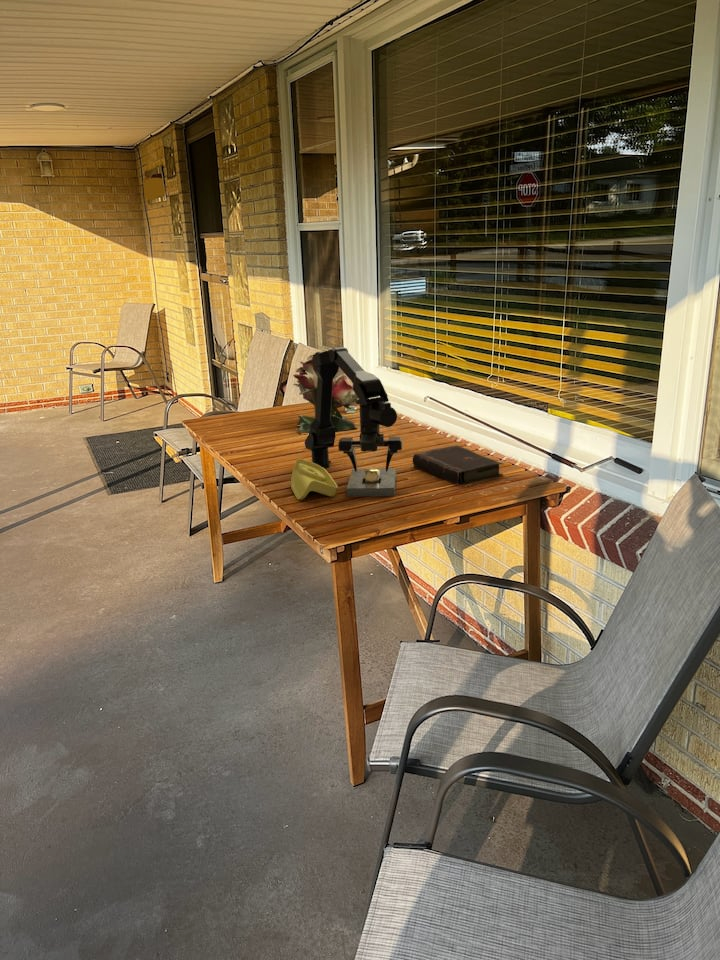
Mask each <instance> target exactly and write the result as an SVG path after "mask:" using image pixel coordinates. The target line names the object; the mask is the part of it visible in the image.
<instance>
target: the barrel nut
mask: <svg viewBox="0 0 720 960" xmlns="http://www.w3.org/2000/svg"><path fill="white" fill-rule="evenodd" d="M364 469H365V484H378V469H376V467H370V468H369V467H367V468H364Z"/></svg>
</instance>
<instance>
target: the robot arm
mask: <svg viewBox="0 0 720 960" xmlns="http://www.w3.org/2000/svg"><path fill="white" fill-rule="evenodd" d="M314 353H315V354H314ZM314 353H313V354H314V355H313V354H312V355H313V356H312V357H313V358H312V363H313V370H314V372H315V374H316V375H317V377H318V380H317V399H316V418H315V420H314V421H313V423H312V424H311V426H310V431H309V435H307V436H306V438H305V440H304V446H305V449H307V450H310V451H311V462H313V463H315V464H317V465H319V466H321V467H323V468H330V467H331V466H330V465H331V464H332V461H331V460H330V457H329V456H330V455H329V454H330V453H329V448H333V447H334V446H335V440H336V438H337V437H336V432H337V431H336V428H335V427H334V426H333V424H332V423H331V421H330V417H331V401H332V385H333V378H334V379H335V377H336V376H337V374H338V372H339V370H341V371H342V372H343V374H344V373H345V374H346V376H347V377H348V378H349V379H350V380H351V382H352V383H353V390H354V392H355V394H356V395H357V397H358V398H359V399H358V400H357V401H356V404H358V406H359V427H360V431H359V432H360V434H359V440H354V438H353V437H341V438H340V439H339V441H338V445H337V446H338V451H339V452H342V453H343V454H347V456H348V458H349V460H350V461H351V464H352V467H353V469H354V470H355V472H357V469H358V465H357V456H356V451H355V450H356V448H360V451H361V452H376V451H378V447H380V448H381V447H386V448H387V452H386V462H385V468H386V472H387V471H388V468H390V464H391V460H392V457H393V455H394V454H398V451H402V450H403V438H402V437H401V436H388V439H387V440H386V439H385V436H384V435H385V434H384V433H381V431H380V430H381V429H380V428H381V427H380V426H382V427H386V428H390V427H392V426H393V425H394V424H396V422H397V419H398V413H397V411H396V409H395V408H393V407H392V403H391V402H390V400H389V397H388V396H389V395H388V393H387V391H386V390H385V388H384V385H383V383H382V380H380V378H379V377H377V376H376V375H375V374H373V373H370V372H369V371H368V372H367V371H365V370H364V369H363V367H362V366H361V365H360V364H359V363H358V362H357V361H356V360H355V358H354V357H353V356H352V354H350V353H349V351H348V349H347V347H343V346H342V347H333V348H330V349H329V350H324V351H317V352H314Z"/></svg>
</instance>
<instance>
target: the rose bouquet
mask: <svg viewBox="0 0 720 960" xmlns="http://www.w3.org/2000/svg"><path fill="white" fill-rule="evenodd" d="M315 353H316V352H314V353H313V354H311V355H309V356H307V357H306V358H305V361H302V360H300V361H299V362H300V364H301V365H302V366H300V367H299V368H297V369H296V370H295V373H299V374H293V378H295V379H296V383H293V386H295V387H297V388H298V389H299V390H300V392H299V393H298V394H299V396H303V397H302V399H304V400H305V401H307V402H309V403H310V404H311V405H313V406H314V417H312V416H307V415H303V414H300V415H298V419H299V421H298V422H297V423H296V426H297V425H300V426H299V428H298V429H297V428H296V429H295V430H296V431H297V432H298V433H299V434H300V433H309V431H310V426H311V424H312V423H313V421H314V420H315V418H316V399H317V380H318V377H317V375H316V374H315V372H314V370H313V363H312V358H313V355H314V354H315ZM357 400H358V397H357V395H356V394H355V392H354V390H353V383H352V382H351V380H350V379H349V378H348V377H347V376H346V374H345V373H344V372H343V373H342V374H340V375H338V376H337V377H336V378H335V377H334V378H333V385H332V401H331V417H330V421H331V423H332V424H333V426H334V427H335V428H336V431H335V432H338V431H339V432H340V431H341V432H343V431H350V430H352V429H357V428H358V427H359V425H358V426H357V425H356V424H355V423H354V422H352V421H351V420H349V419H348V418H347V417H346V416H344V415H342V414H341V412H340V411H339V410H338V409H340V408H342V407H346V408H348V409H349V410H350V409H352V408H350V407H349V406H350V405H352V406H356V407H357V406H359V404H356V401H357ZM353 410H354V409H353ZM354 411H355V410H354ZM355 412H356V411H355ZM355 426H357V427H355Z"/></svg>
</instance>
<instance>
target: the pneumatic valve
mask: <svg viewBox="0 0 720 960" xmlns="http://www.w3.org/2000/svg"><path fill="white" fill-rule="evenodd" d="M358 399H359V398H358ZM343 407H344V406H343ZM349 407H350V408H352V409H350V410H349V409H348V408H346V407H344V408H343V410H344V413H346V414H348V413H350V414H356V412H357V410H358V408H357V405H356V406H352V405H350V406H349ZM353 409H354V410H355V411H354V410H353Z"/></svg>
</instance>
